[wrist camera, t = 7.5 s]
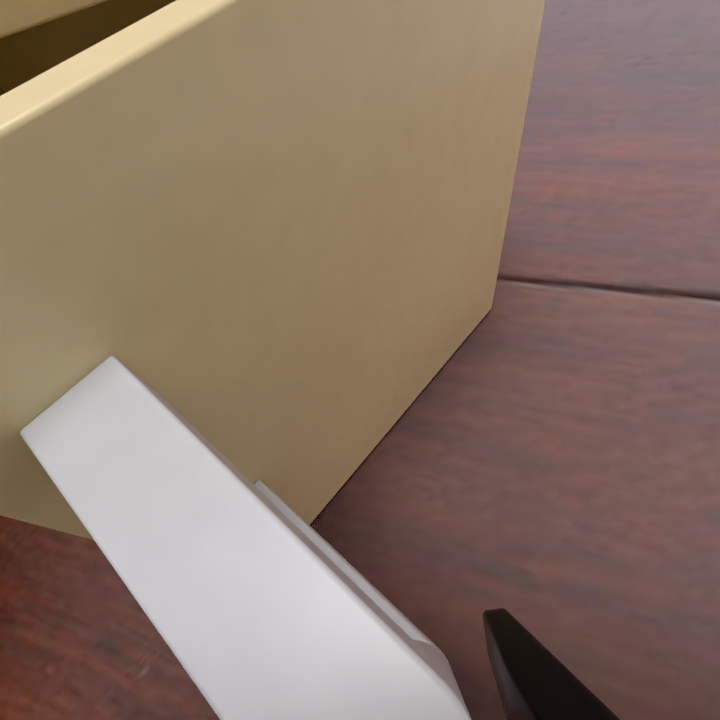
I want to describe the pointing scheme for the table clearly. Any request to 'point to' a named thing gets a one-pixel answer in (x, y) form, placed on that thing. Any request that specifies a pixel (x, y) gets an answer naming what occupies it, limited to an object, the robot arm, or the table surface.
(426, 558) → the table surface
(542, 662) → the robot arm
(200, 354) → the fridge door
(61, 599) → the table surface
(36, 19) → the fridge
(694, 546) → the table surface
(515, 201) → the table surface
